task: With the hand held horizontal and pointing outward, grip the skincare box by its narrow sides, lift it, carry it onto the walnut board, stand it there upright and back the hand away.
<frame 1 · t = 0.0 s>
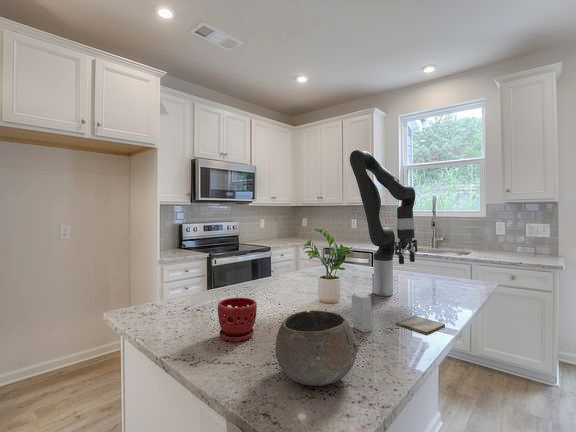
hand: (406, 262, 148), 17 cm above the counter, tool pointing down, fingers open, 8 cm apart
clay pot: (316, 377, 82), on the counter
skincare box: (362, 329, 113), on the counter
walnut board: (420, 325, 116), on the counter
plant pot: (238, 337, 109), on the counter
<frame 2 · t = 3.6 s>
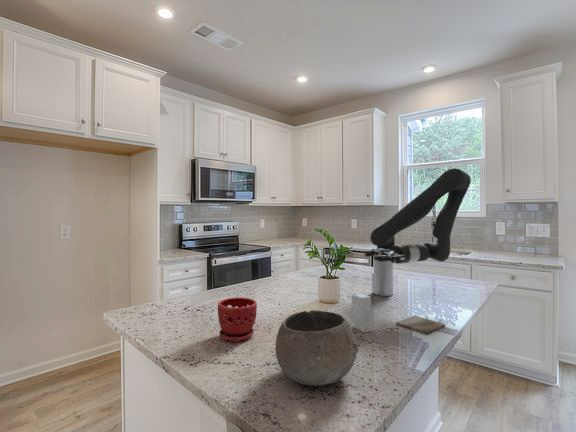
hand: (371, 256, 125), 24 cm above the counter, tool horizontal, fingers open, 8 cm apart
nothing on the counter moved.
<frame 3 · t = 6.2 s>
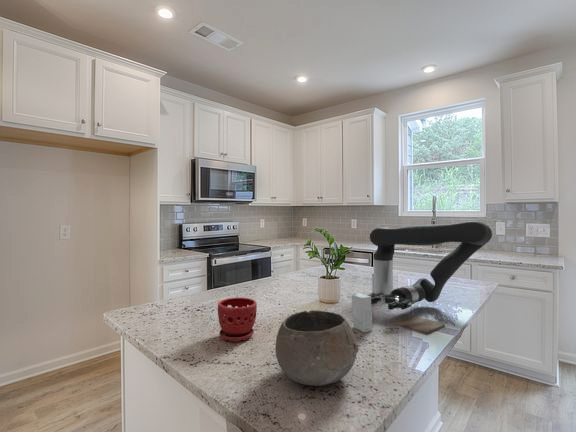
hand: (379, 304, 119), 7 cm above the counter, tool horizontal, fingers open, 8 cm apart
nothing on the counter moved.
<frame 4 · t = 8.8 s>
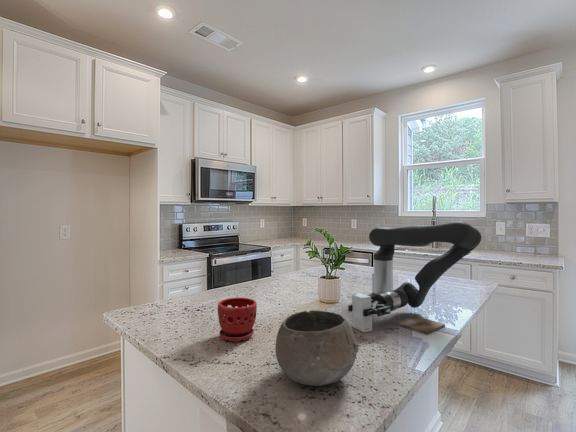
hand: (356, 311, 111), 7 cm above the counter, tool horizontal, fingers closed on skincare box, 6 cm apart
skincare box: (362, 329, 113), on the counter, touching gripper
everything else where it was.
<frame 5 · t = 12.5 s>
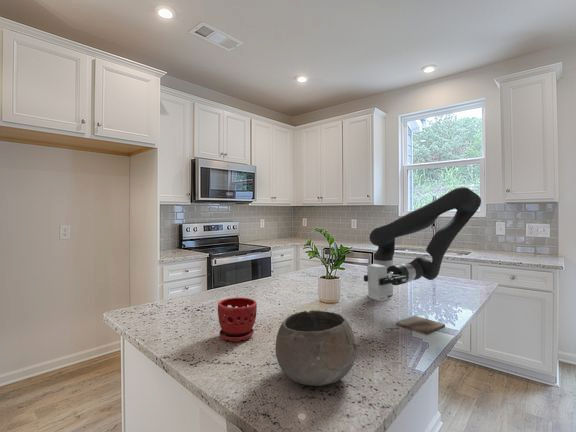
hand: (372, 280, 112), 17 cm above the counter, tool horizontal, fingers closed on skincare box, 6 cm apart
skincare box: (377, 299, 114), point 10 cm above the counter, touching gripper
everything else where it was.
when the fingers open (9 cm above the counter, at t = 16.3 s): skincare box drops 1 cm, resting on walnut board.
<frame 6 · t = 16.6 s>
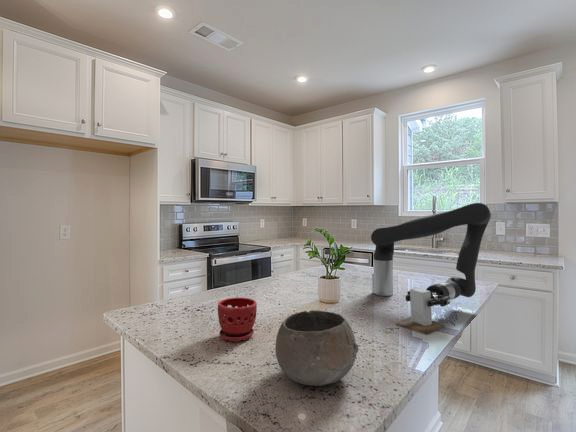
hand: (417, 301, 114), 9 cm above the counter, tool horizontal, fingers open, 8 cm apart
skincare box: (420, 323, 116), point 1 cm above the counter, touching walnut board
everything else where it was.
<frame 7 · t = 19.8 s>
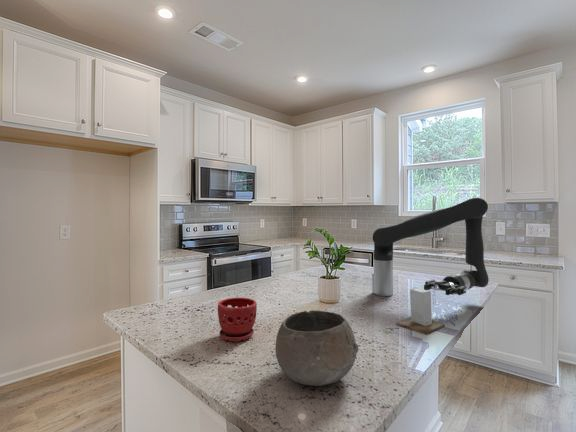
hand: (435, 290, 122), 11 cm above the counter, tool horizontal, fingers open, 8 cm apart
nothing on the counter moved.
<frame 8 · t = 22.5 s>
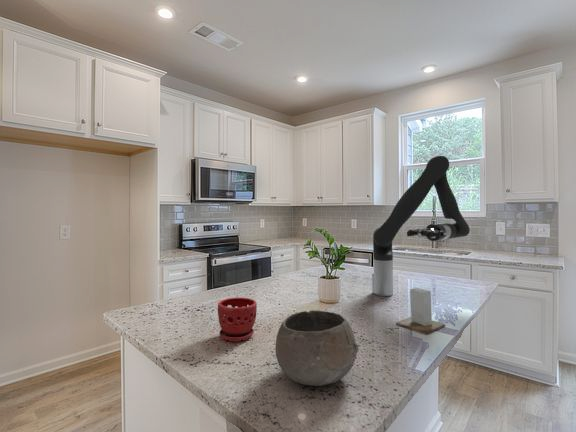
hand: (417, 234, 130), 32 cm above the counter, tool horizontal, fingers open, 8 cm apart
nothing on the counter moved.
at the end: skincare box inside the target area on the walnut board (0.5 cm from its centre), point 0.6 cm above the walnut board's base; skincare box tilted 0°; the gripper is holding nothing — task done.
